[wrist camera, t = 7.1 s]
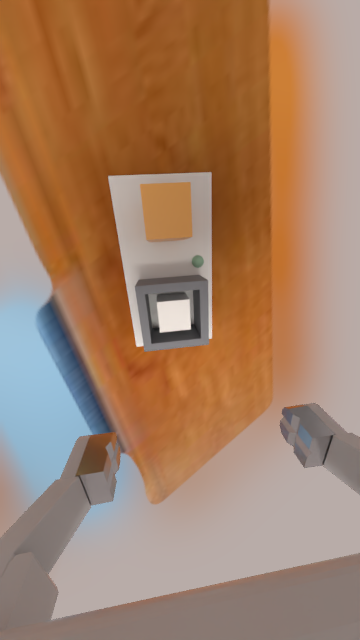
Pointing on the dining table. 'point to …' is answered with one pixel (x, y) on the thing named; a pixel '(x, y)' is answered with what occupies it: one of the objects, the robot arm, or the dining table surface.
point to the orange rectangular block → (167, 211)
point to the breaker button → (173, 312)
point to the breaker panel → (165, 261)
